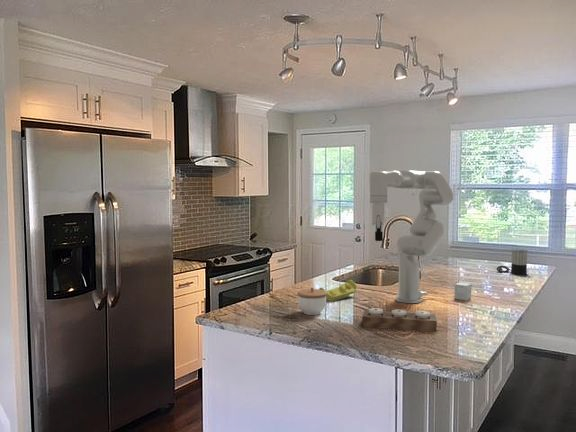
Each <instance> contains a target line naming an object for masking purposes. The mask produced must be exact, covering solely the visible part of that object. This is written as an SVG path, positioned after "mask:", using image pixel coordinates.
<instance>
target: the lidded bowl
mask: <svg viewBox="0 0 576 432" xmlns="http://www.w3.org/2000/svg"><path fill="white" fill-rule="evenodd" d="M326 291H327V290H325V291H323V290H319V288H317V289H316V288H314V287H310V288H308V289H300V290H299V291H297V303H298V306H299V308H300V310H301V311H302V312H303V315H307V316H308V315H309V316H317V315H320V314H321V312H323V311H324V309H325V307H326V304H327V299H326V296H327V292H326Z"/></svg>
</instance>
